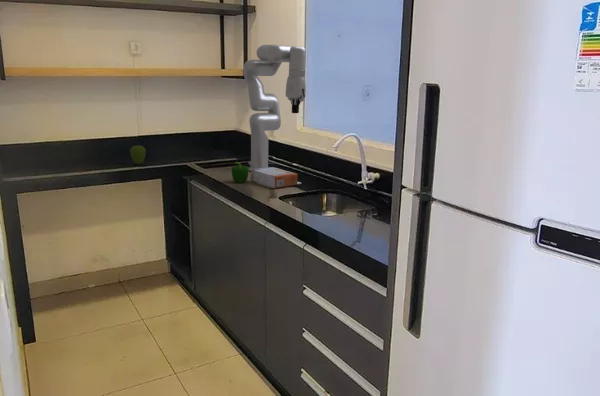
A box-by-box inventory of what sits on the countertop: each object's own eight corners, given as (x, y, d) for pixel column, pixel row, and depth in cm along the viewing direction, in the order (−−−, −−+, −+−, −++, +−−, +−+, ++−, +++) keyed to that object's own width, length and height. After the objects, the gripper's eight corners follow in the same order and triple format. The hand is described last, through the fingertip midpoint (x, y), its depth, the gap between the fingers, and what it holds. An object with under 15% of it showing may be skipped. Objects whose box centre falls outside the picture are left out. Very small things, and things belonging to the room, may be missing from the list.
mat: (255, 182, 255) (255, 182, 255) (283, 178, 266) (283, 177, 266) (273, 188, 245) (273, 187, 245) (301, 183, 256) (301, 182, 256)
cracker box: (297, 185, 251) (272, 177, 266) (298, 173, 250) (272, 166, 265) (274, 188, 242) (249, 180, 258) (275, 176, 241) (250, 168, 256)
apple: (128, 164, 293) (127, 144, 290) (142, 162, 298) (141, 143, 296) (134, 166, 287) (133, 146, 284) (148, 165, 292) (148, 144, 289)
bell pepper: (252, 182, 257) (252, 162, 254) (240, 184, 250) (240, 164, 248) (240, 179, 262) (240, 160, 259) (228, 181, 256) (228, 162, 253)
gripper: (280, 73, 245) (279, 111, 249) (300, 74, 234) (299, 115, 239) (292, 73, 249) (291, 111, 254) (313, 74, 238) (311, 114, 243)
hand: (295, 112), depth 246 cm, fingers closed
